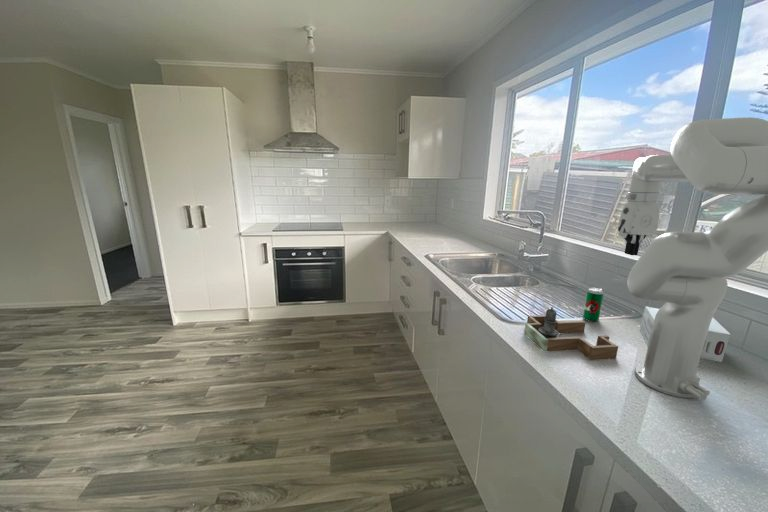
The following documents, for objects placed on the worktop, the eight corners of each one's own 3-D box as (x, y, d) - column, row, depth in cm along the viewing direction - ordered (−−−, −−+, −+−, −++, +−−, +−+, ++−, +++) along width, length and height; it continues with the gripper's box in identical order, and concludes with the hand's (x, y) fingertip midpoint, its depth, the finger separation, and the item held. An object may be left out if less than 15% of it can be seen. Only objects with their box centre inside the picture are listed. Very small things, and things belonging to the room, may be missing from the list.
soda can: (601, 322, 111) (607, 291, 109) (588, 322, 112) (593, 291, 109) (592, 316, 116) (598, 287, 113) (579, 316, 116) (584, 287, 114)
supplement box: (647, 347, 95) (653, 320, 93) (639, 330, 106) (644, 305, 104) (723, 363, 87) (732, 333, 84) (705, 342, 98) (713, 316, 95)
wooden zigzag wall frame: (622, 358, 89) (624, 346, 88) (554, 362, 87) (556, 349, 86) (571, 324, 110) (572, 314, 109) (516, 326, 108) (517, 316, 107)
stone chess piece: (558, 347, 95) (564, 312, 92) (537, 343, 97) (542, 308, 94) (556, 338, 100) (561, 305, 97) (536, 335, 102) (541, 302, 100)
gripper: (631, 199, 91) (619, 258, 95) (675, 198, 92) (662, 256, 97) (610, 197, 98) (600, 252, 103) (652, 197, 99) (640, 250, 104)
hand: (630, 254), depth 100 cm, fingers closed
